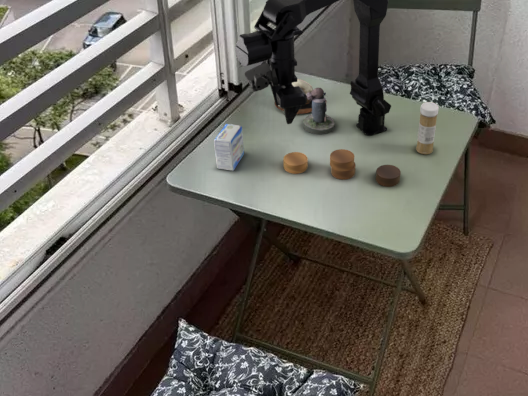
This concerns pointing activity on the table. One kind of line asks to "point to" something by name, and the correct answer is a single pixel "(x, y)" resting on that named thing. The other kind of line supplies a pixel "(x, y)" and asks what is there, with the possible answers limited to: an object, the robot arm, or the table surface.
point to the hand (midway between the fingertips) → (283, 114)
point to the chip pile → (342, 164)
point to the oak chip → (295, 162)
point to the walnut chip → (388, 175)
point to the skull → (306, 89)
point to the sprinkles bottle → (427, 127)
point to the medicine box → (229, 147)
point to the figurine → (318, 114)
